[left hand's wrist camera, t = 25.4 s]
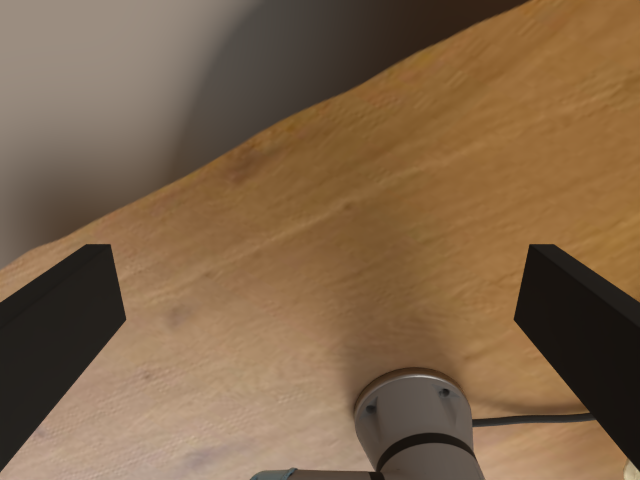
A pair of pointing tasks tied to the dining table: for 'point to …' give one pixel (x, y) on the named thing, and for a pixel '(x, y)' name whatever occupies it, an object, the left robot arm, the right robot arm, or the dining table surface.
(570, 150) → the dining table surface
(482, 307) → the dining table surface
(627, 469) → the bowl
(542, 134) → the dining table surface
